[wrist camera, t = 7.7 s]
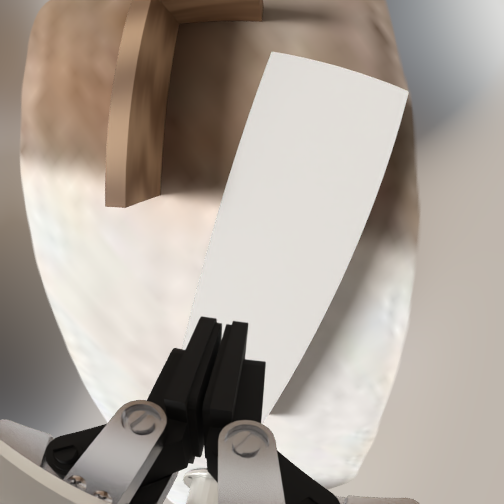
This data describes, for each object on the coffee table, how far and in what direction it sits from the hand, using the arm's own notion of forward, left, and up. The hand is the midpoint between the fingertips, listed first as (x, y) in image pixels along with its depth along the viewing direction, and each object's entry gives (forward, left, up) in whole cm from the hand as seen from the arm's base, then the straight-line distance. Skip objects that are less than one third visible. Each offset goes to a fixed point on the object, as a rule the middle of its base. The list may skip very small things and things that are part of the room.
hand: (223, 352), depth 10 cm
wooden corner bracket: (+12, +5, -14) cm, 19 cm away
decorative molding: (-3, -2, -15) cm, 15 cm away
